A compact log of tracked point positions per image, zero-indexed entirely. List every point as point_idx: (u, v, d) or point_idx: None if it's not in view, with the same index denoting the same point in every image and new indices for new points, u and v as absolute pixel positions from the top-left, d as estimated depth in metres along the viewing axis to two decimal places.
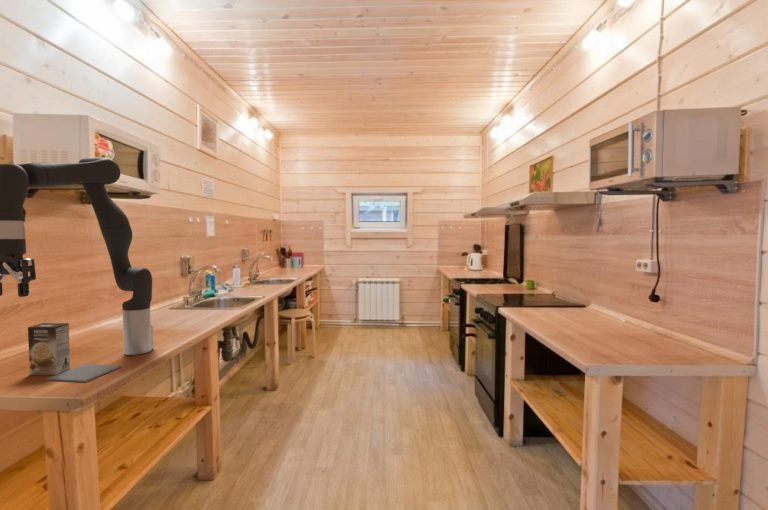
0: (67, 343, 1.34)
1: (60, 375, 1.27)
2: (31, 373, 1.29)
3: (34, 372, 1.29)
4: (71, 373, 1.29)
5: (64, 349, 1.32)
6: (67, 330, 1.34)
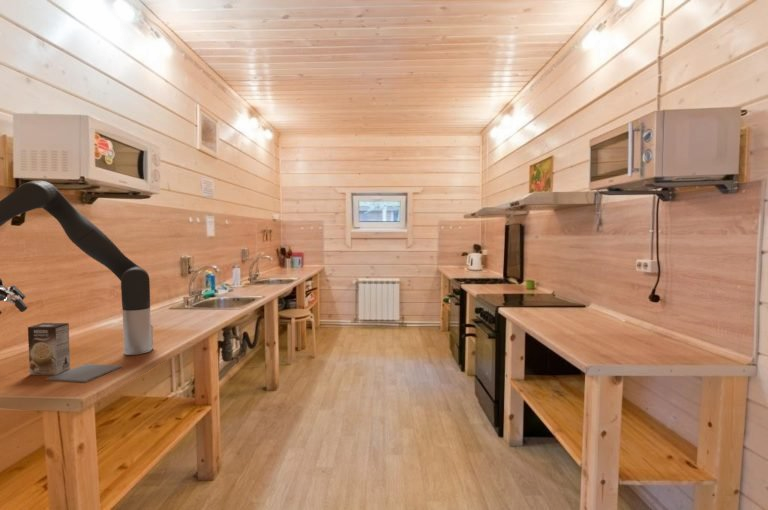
0: (67, 343, 1.34)
1: (60, 375, 1.27)
2: (31, 373, 1.29)
3: (34, 372, 1.29)
4: (71, 373, 1.29)
5: (64, 349, 1.32)
6: (67, 330, 1.34)
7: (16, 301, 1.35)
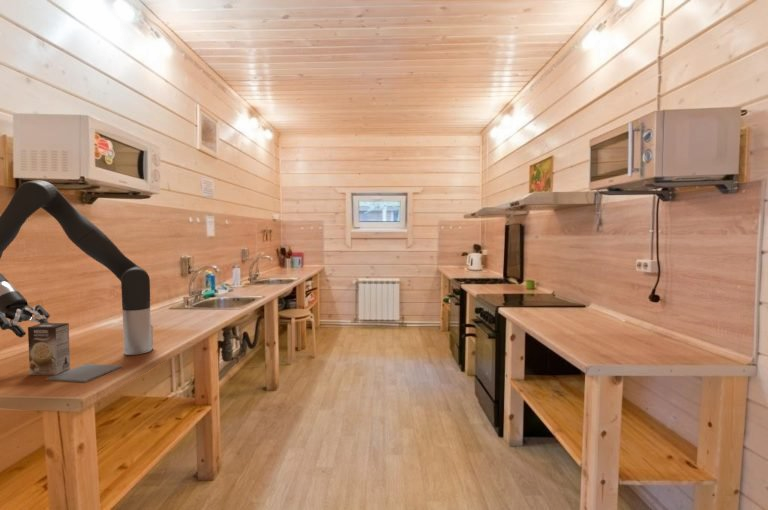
0: (67, 343, 1.34)
1: (60, 375, 1.27)
2: (31, 373, 1.29)
3: (34, 372, 1.29)
4: (71, 373, 1.29)
5: (64, 349, 1.32)
6: (67, 330, 1.34)
7: (41, 320, 1.36)
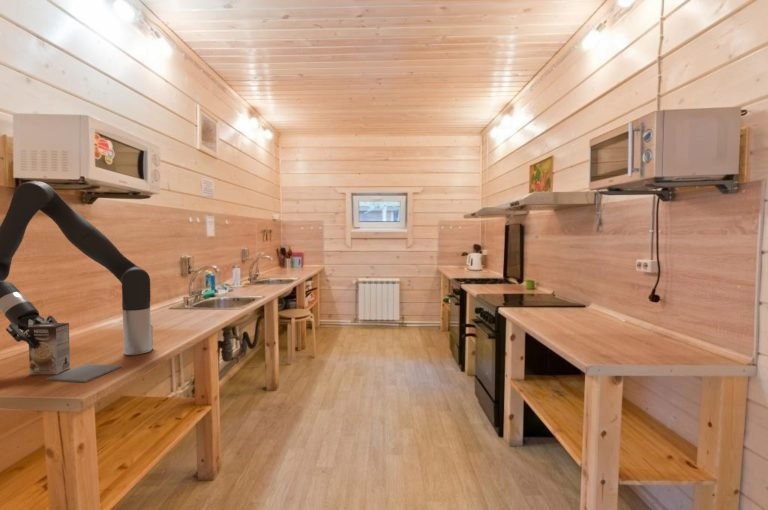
0: (67, 343, 1.34)
1: (60, 375, 1.27)
2: (31, 373, 1.29)
3: (34, 372, 1.29)
4: (71, 373, 1.29)
5: (64, 348, 1.32)
6: (67, 330, 1.34)
7: None
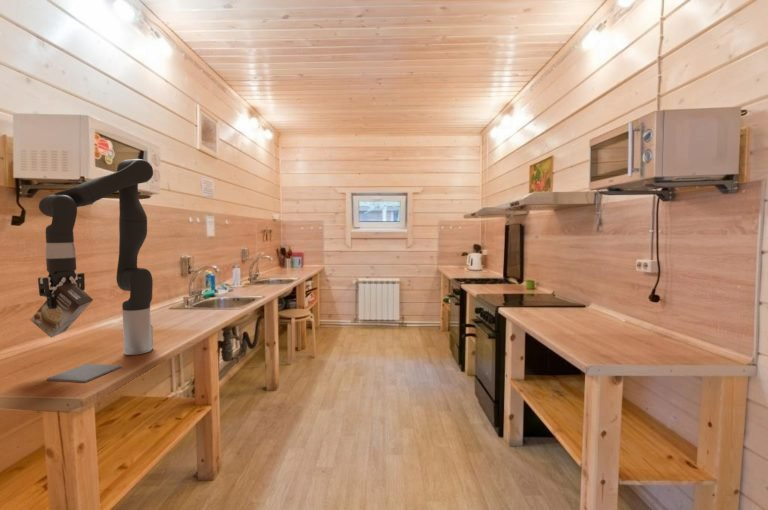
0: (79, 314, 1.32)
1: (60, 375, 1.27)
2: (31, 320, 1.27)
3: (34, 321, 1.27)
4: (71, 373, 1.29)
5: (73, 318, 1.30)
6: (87, 305, 1.31)
7: None
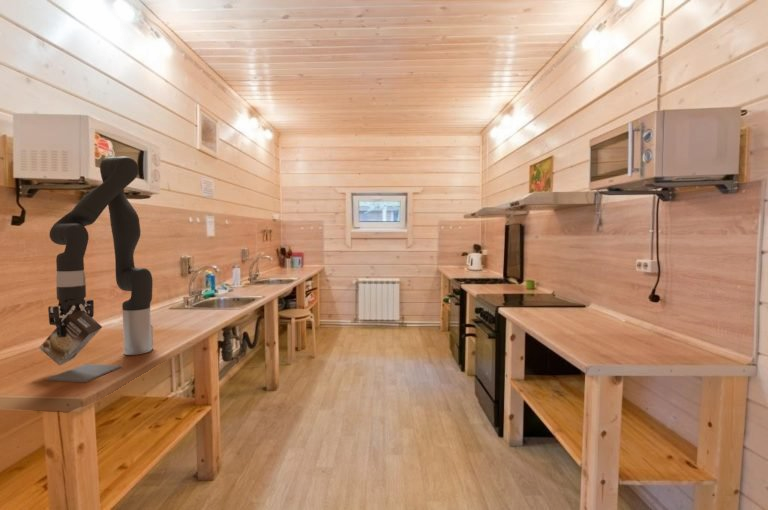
0: (88, 341, 1.32)
1: (60, 375, 1.27)
2: (40, 348, 1.27)
3: (43, 349, 1.27)
4: (71, 373, 1.29)
5: (82, 346, 1.30)
6: (96, 332, 1.31)
7: None
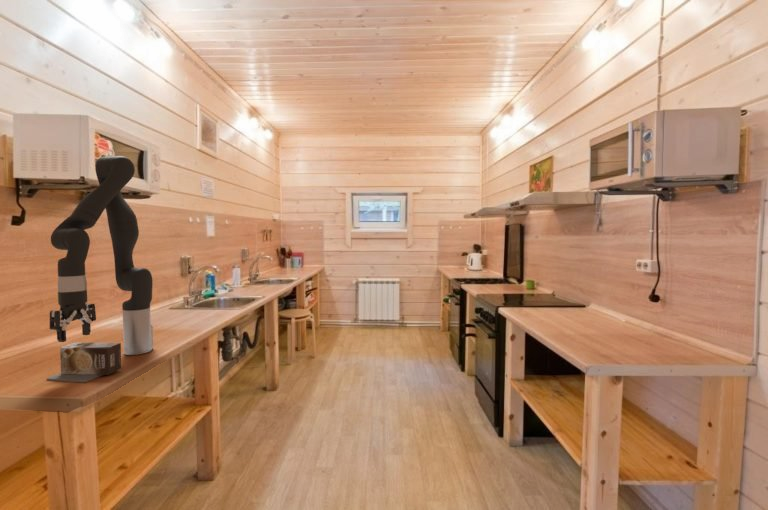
0: None
1: (60, 375, 1.27)
2: (61, 349, 1.27)
3: (62, 352, 1.27)
4: None
5: None
6: None
7: (85, 323, 1.33)
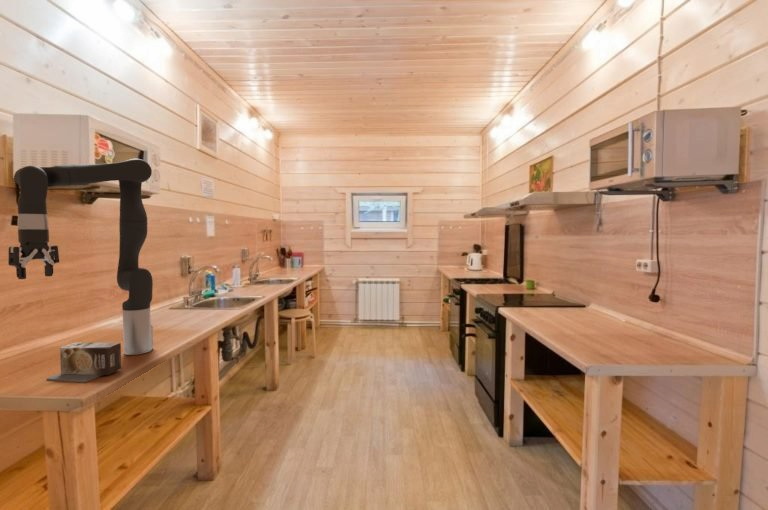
0: None
1: (60, 375, 1.27)
2: (61, 349, 1.27)
3: (62, 352, 1.27)
4: None
5: None
6: None
7: (47, 264, 1.32)
